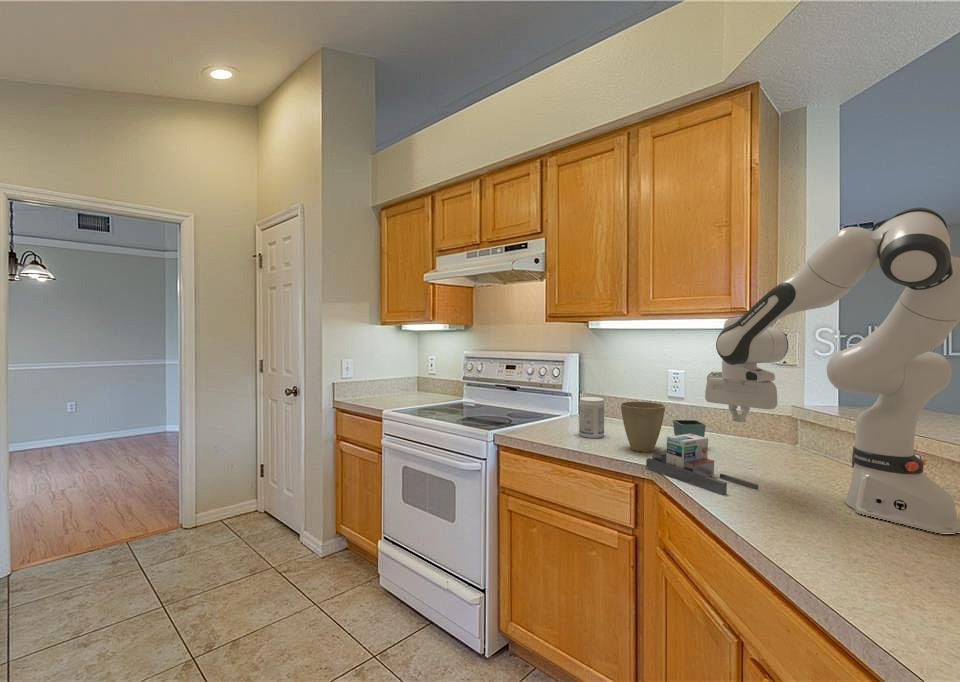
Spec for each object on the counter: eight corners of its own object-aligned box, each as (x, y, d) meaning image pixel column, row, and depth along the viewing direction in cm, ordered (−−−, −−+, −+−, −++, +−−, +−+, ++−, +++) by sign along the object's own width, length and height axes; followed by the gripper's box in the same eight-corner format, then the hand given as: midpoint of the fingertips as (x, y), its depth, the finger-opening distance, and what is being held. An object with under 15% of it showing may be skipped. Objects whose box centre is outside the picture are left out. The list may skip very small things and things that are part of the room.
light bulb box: (683, 478, 144) (684, 441, 143) (664, 472, 150) (665, 436, 149) (708, 473, 149) (709, 437, 148) (689, 467, 155) (690, 432, 154)
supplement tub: (597, 432, 201) (598, 396, 201) (608, 438, 192) (609, 400, 191) (574, 433, 199) (575, 397, 198) (585, 439, 190) (585, 400, 189)
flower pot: (671, 443, 184) (672, 419, 184) (695, 444, 184) (696, 419, 184) (680, 449, 175) (681, 424, 175) (705, 450, 175) (706, 424, 175)
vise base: (758, 489, 135) (758, 471, 135) (728, 496, 129) (728, 478, 129) (674, 462, 159) (675, 448, 159) (646, 468, 153) (646, 453, 153)
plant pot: (662, 445, 181) (663, 402, 180) (666, 456, 166) (667, 409, 166) (619, 442, 185) (620, 400, 184) (619, 453, 170) (620, 406, 170)
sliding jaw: (713, 475, 145) (714, 460, 145) (692, 480, 141) (693, 464, 141) (704, 472, 148) (705, 458, 148) (684, 477, 144) (684, 462, 143)
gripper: (700, 371, 150) (700, 417, 150) (766, 375, 132) (766, 427, 132) (714, 370, 153) (714, 415, 153) (781, 375, 135) (780, 426, 135)
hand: (738, 421), depth 142 cm, fingers closed
